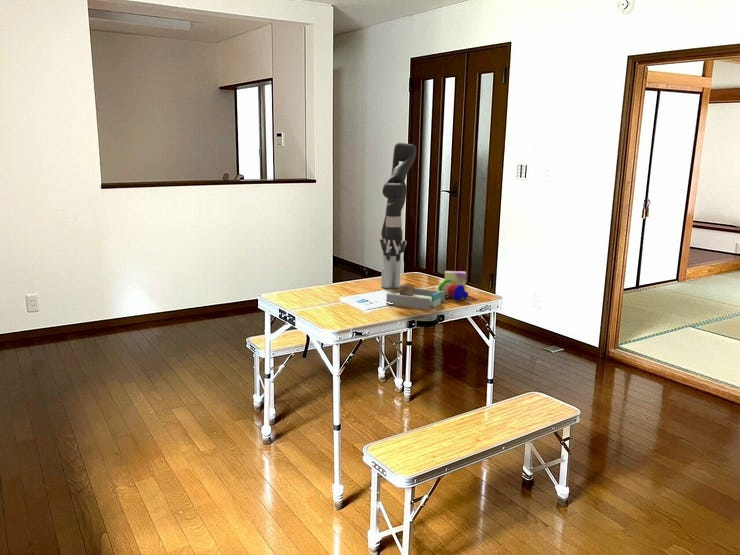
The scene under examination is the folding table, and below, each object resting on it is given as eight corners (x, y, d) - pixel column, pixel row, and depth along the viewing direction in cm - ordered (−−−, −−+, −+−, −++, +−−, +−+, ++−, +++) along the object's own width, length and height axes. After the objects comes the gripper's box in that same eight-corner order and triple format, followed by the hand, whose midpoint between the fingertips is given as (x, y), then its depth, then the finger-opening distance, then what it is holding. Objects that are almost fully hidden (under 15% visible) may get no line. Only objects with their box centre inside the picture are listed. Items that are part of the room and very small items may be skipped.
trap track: (386, 304, 295) (386, 291, 293) (403, 296, 310) (404, 284, 309) (429, 310, 284) (429, 297, 283) (444, 301, 300) (445, 289, 298)
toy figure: (467, 305, 303) (443, 294, 313) (471, 286, 301) (447, 277, 311) (456, 306, 297) (432, 296, 306) (461, 287, 295) (436, 277, 304)
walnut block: (399, 295, 298) (399, 285, 297) (404, 293, 302) (404, 283, 301) (408, 297, 296) (409, 286, 295) (413, 295, 300) (413, 285, 299)
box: (464, 293, 317) (465, 271, 314) (465, 296, 311) (466, 273, 309) (444, 293, 318) (444, 270, 315) (444, 295, 312) (445, 272, 310)
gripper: (376, 225, 296) (376, 260, 300) (403, 227, 289) (403, 263, 293) (384, 223, 302) (383, 258, 306) (410, 225, 296) (410, 261, 299)
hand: (393, 260), depth 299 cm, fingers open, 4 cm apart
